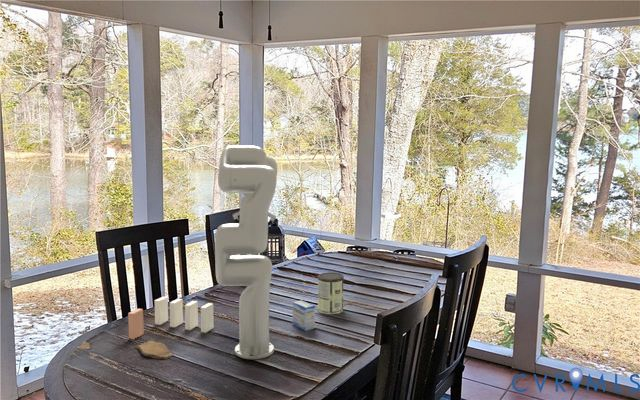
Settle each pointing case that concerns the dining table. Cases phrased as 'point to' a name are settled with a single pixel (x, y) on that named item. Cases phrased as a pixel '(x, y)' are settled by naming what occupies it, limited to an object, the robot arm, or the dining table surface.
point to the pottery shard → (154, 350)
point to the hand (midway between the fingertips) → (253, 236)
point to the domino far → (161, 310)
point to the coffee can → (330, 293)
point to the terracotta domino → (135, 323)
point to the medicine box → (303, 315)
